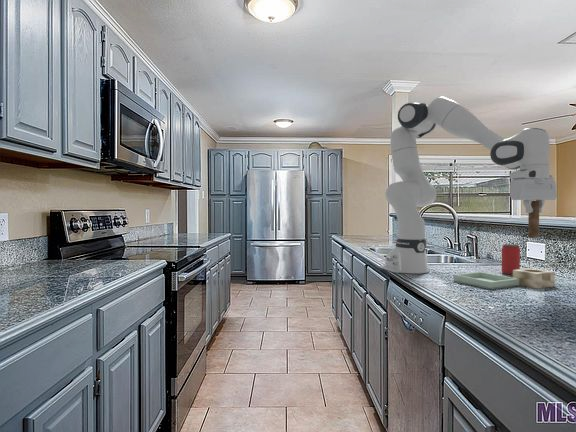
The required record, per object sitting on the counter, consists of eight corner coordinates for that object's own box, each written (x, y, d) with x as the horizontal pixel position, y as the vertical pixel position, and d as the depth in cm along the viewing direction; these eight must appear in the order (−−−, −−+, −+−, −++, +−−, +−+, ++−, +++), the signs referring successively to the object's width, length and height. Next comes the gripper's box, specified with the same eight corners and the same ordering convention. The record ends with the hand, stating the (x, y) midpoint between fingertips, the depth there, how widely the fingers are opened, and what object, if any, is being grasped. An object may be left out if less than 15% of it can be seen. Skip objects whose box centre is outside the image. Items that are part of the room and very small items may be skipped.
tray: (453, 281, 143) (453, 274, 143) (480, 278, 148) (480, 271, 148) (491, 289, 128) (491, 282, 128) (519, 285, 134) (519, 278, 134)
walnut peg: (526, 237, 135) (526, 200, 135) (532, 236, 137) (532, 200, 136) (535, 237, 133) (535, 200, 132) (541, 237, 134) (541, 200, 133)
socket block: (512, 283, 137) (512, 269, 137) (529, 281, 141) (529, 268, 141) (537, 288, 129) (537, 273, 129) (554, 286, 133) (554, 271, 133)
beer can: (502, 271, 163) (502, 243, 162) (520, 273, 159) (520, 244, 158) (500, 273, 157) (500, 245, 157) (519, 275, 153) (519, 246, 153)
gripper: (544, 175, 141) (543, 212, 141) (506, 173, 133) (505, 213, 133) (562, 174, 135) (561, 212, 136) (523, 172, 127) (523, 213, 128)
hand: (533, 213), depth 134 cm, fingers closed on walnut peg, 3 cm apart
